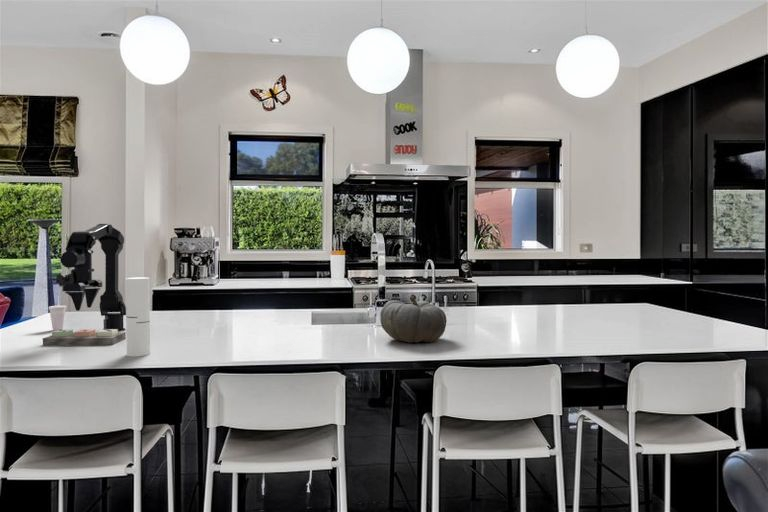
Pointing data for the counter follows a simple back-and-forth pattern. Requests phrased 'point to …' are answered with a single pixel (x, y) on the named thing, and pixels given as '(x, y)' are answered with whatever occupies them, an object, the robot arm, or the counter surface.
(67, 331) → the tile two
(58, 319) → the smoothie
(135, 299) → the cylindrical container
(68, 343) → the tile board
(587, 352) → the counter surface
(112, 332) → the tile three
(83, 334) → the tile one
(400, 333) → the gourd
